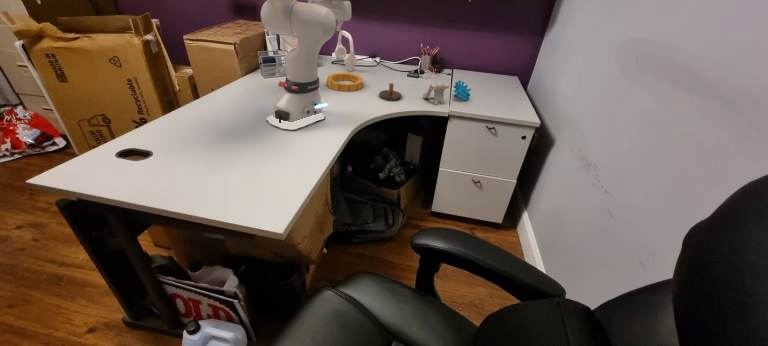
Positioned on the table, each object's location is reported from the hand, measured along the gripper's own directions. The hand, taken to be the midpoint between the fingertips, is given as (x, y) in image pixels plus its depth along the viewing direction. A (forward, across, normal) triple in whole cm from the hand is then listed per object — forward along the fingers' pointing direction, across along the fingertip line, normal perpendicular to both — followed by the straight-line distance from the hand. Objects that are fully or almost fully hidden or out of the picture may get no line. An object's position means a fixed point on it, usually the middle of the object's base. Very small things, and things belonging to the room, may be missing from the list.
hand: (329, 29), depth 138 cm
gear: (+25, +56, +27) cm, 67 cm away
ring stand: (+25, +28, +7) cm, 39 cm away
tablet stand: (+25, +47, +16) cm, 56 cm away
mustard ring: (+25, +4, +6) cm, 26 cm away
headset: (+24, -12, +30) cm, 41 cm away
